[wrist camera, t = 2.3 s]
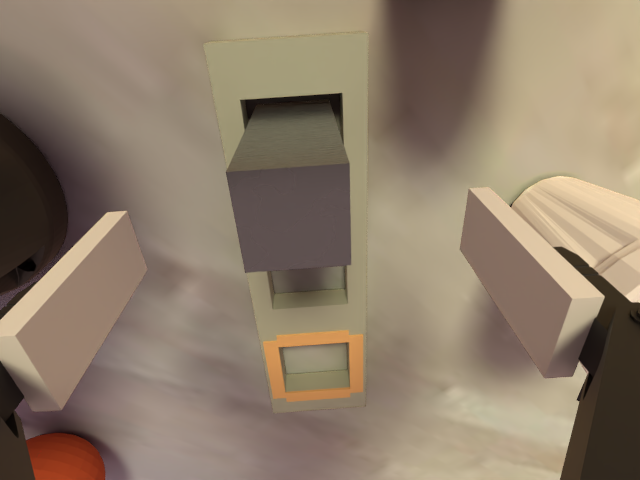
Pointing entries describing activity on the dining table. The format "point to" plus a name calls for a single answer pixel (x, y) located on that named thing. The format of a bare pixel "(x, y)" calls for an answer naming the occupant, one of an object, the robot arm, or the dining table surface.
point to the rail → (350, 303)
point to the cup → (588, 227)
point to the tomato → (64, 458)
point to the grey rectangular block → (291, 188)
